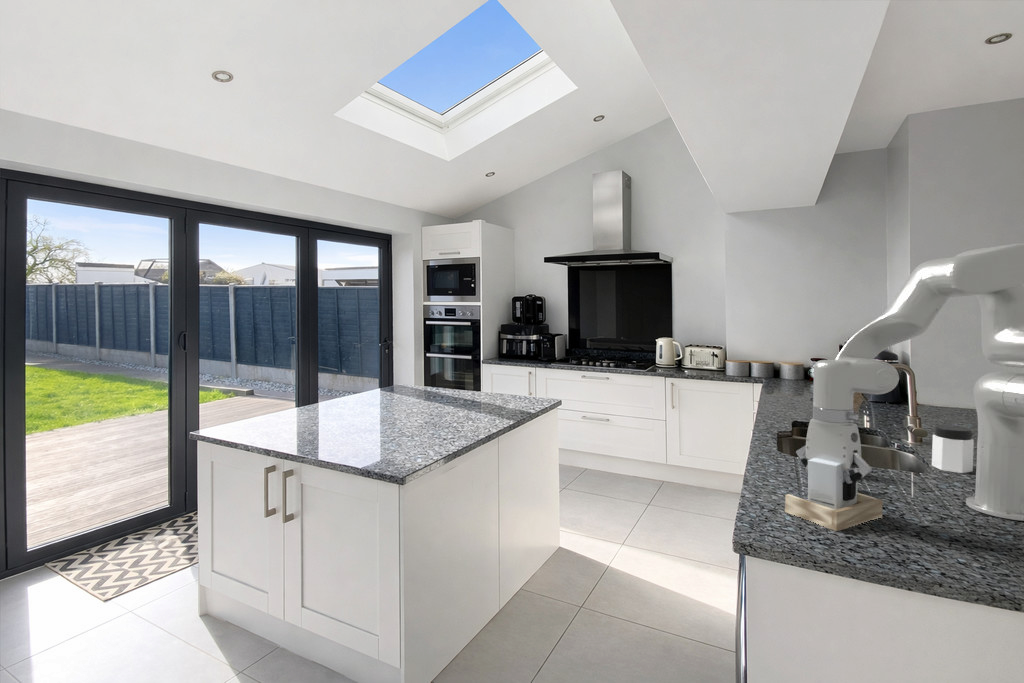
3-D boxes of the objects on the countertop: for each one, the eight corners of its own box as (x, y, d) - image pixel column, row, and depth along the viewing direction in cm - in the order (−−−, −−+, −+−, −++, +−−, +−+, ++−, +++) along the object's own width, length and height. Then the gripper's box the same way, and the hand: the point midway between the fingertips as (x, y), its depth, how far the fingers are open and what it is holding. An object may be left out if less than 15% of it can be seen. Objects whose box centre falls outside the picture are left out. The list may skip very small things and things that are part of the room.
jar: (979, 474, 141) (980, 432, 141) (946, 472, 143) (947, 430, 142) (957, 465, 150) (958, 425, 150) (926, 463, 152) (927, 424, 151)
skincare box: (826, 495, 119) (827, 451, 119) (857, 503, 114) (858, 457, 113) (805, 505, 113) (806, 458, 112) (837, 514, 108) (838, 465, 107)
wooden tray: (882, 518, 111) (882, 500, 111) (836, 531, 104) (836, 512, 104) (829, 500, 121) (829, 484, 121) (784, 511, 114) (785, 494, 114)
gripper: (885, 421, 106) (883, 504, 107) (806, 408, 122) (804, 480, 122) (863, 424, 103) (861, 510, 104) (785, 410, 118) (784, 485, 119)
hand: (830, 493), depth 113 cm, fingers closed on skincare box, 7 cm apart
